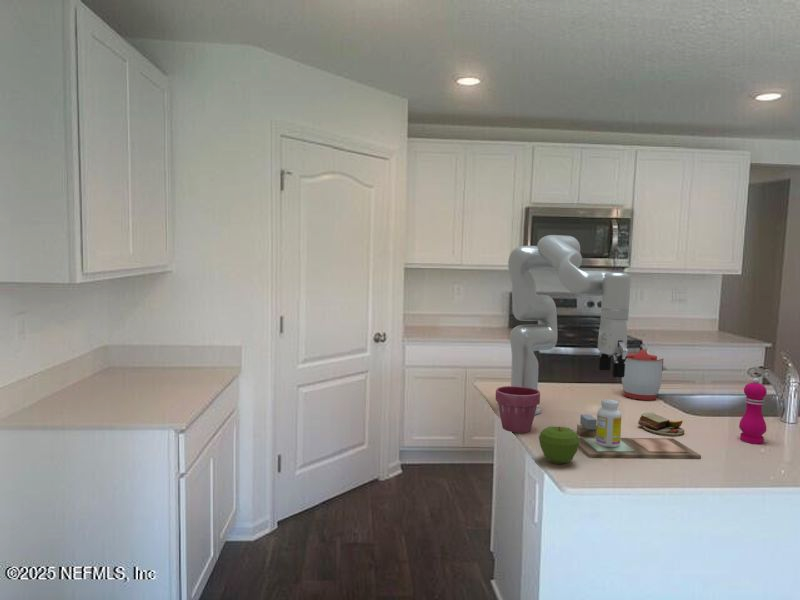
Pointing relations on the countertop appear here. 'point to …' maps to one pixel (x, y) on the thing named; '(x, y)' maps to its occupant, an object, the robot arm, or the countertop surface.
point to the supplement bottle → (608, 424)
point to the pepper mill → (753, 413)
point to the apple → (558, 444)
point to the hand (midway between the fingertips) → (611, 373)
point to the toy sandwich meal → (660, 425)
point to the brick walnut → (586, 431)
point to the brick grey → (588, 421)
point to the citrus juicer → (642, 376)
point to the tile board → (638, 449)
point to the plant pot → (517, 407)
